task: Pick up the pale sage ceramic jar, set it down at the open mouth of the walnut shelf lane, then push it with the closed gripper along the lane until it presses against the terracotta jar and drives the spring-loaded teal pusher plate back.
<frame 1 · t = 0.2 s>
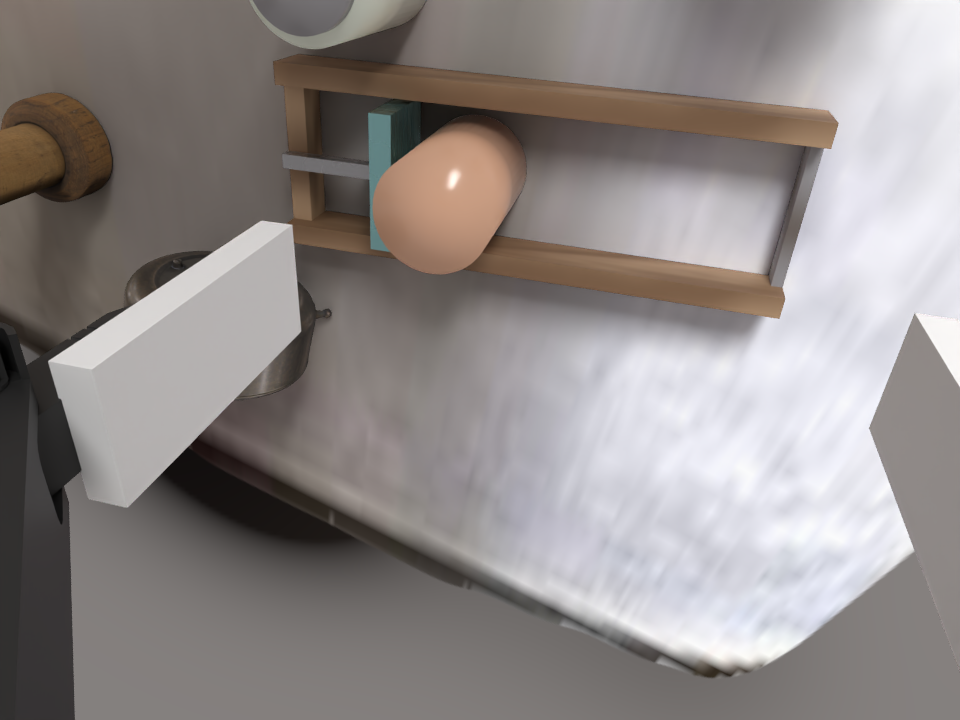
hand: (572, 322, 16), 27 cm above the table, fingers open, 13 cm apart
pusher: (345, 166, 42), point 3 cm above the table, slide at 0.0 cm
lane: (536, 175, 42), on the table
alarm clock: (275, 274, 50), on the table
jar in lane: (476, 167, 43), resting in lane
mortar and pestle: (72, 143, 49), on the table
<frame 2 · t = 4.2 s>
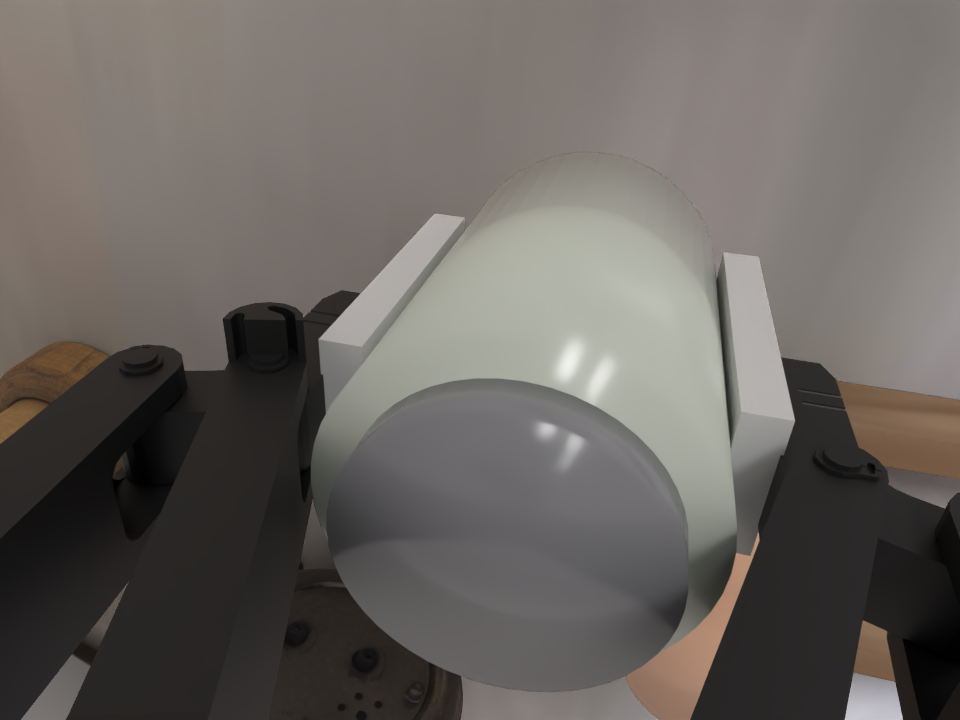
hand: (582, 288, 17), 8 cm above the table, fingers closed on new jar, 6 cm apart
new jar: (585, 276, 18), point 7 cm above the table, touching gripper
lane: (813, 501, 28), on the table
alarm clock: (382, 576, 35), on the table
jar in lane: (716, 482, 28), resting in lane
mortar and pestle: (96, 402, 34), on the table
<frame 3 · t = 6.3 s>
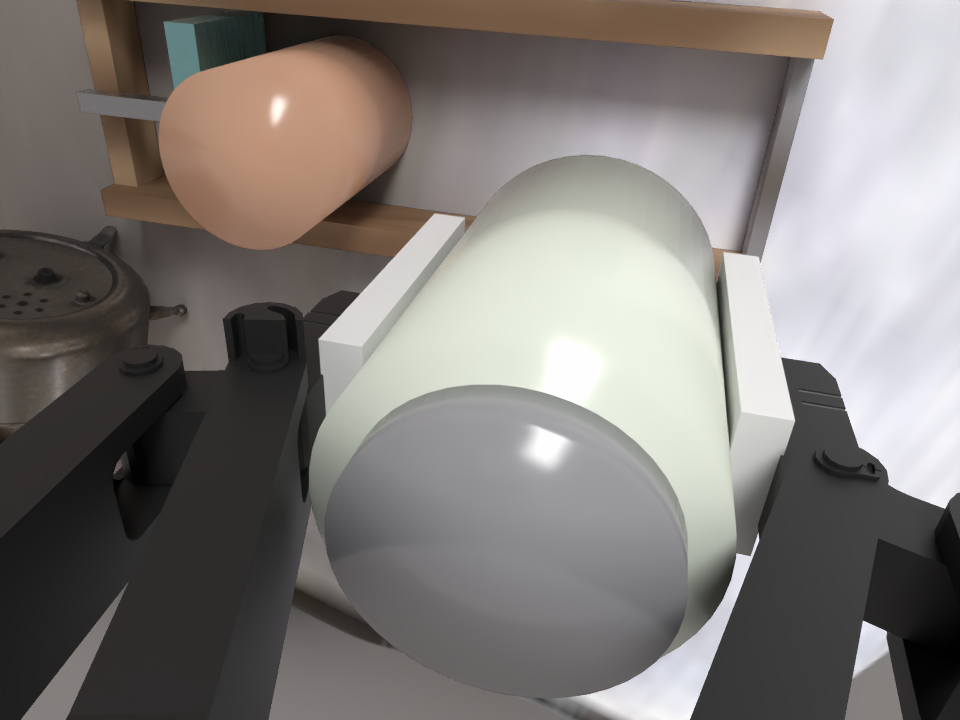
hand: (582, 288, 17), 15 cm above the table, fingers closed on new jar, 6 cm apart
pusher: (163, 108, 30), point 3 cm above the table, slide at 0.0 cm
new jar: (585, 279, 18), point 14 cm above the table, touching gripper
lane: (425, 119, 31), on the table
alarm clock: (114, 260, 39), on the table
jar in lane: (346, 110, 32), resting in lane
when the fingers open (1 cm above the table, at t = 8.7 s): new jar stays where it is, resting in lane.
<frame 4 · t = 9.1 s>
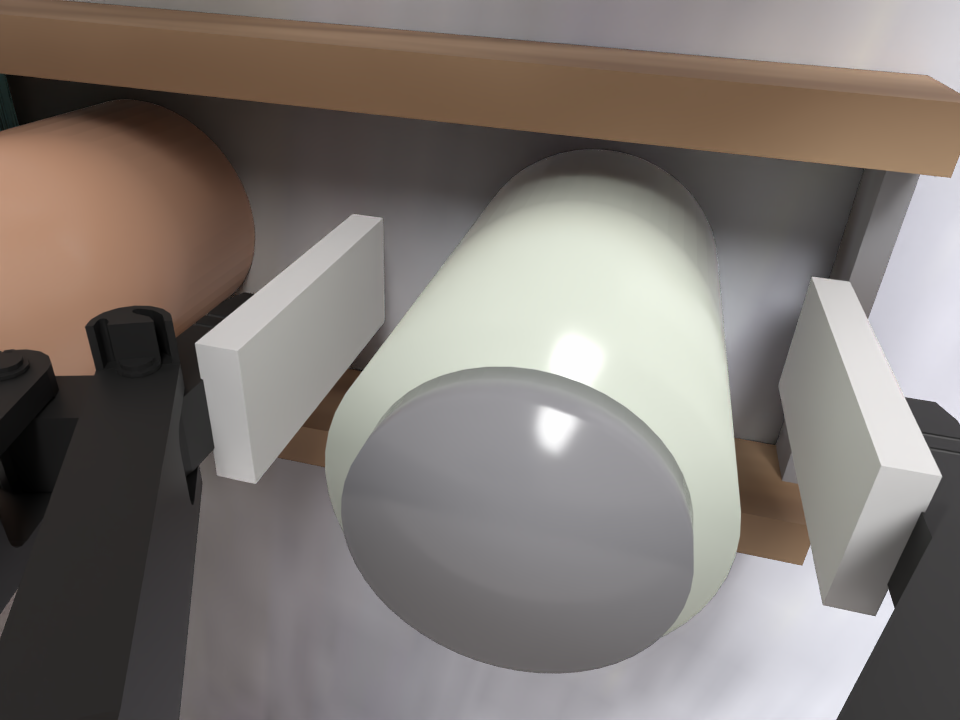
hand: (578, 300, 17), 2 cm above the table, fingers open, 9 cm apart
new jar: (590, 271, 18), resting in lane
lane: (274, 229, 20), on the table
jar in lane: (155, 212, 20), resting in lane
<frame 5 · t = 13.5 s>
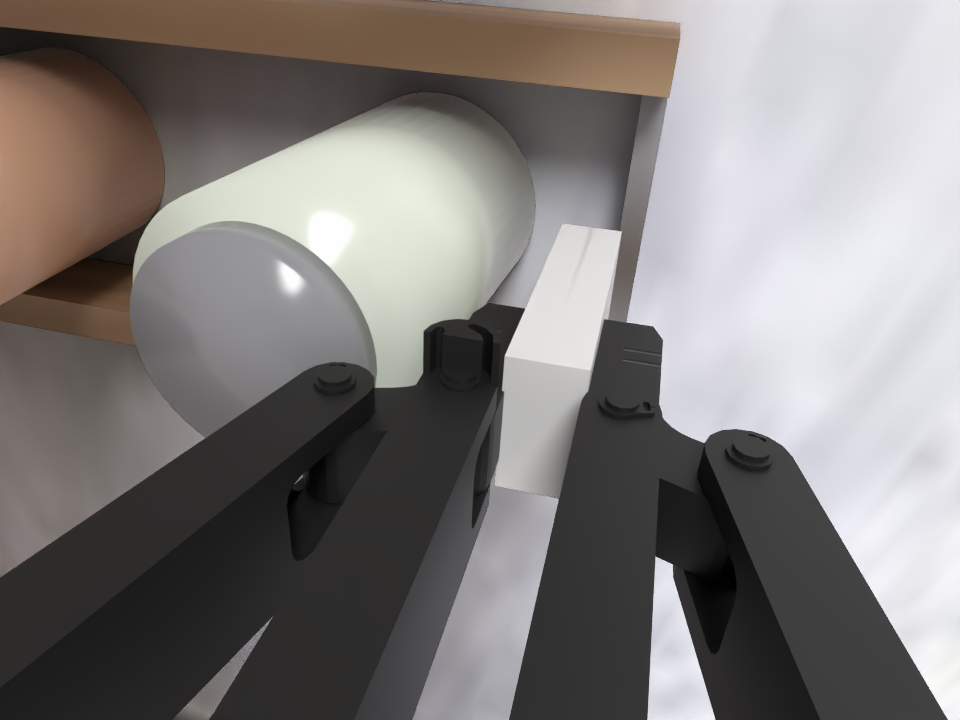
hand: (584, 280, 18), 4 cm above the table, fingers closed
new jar: (436, 199, 21), resting in lane, tilted 6°, touching gripper
lane: (179, 161, 23), on the table
jar in lane: (80, 147, 24), resting in lane
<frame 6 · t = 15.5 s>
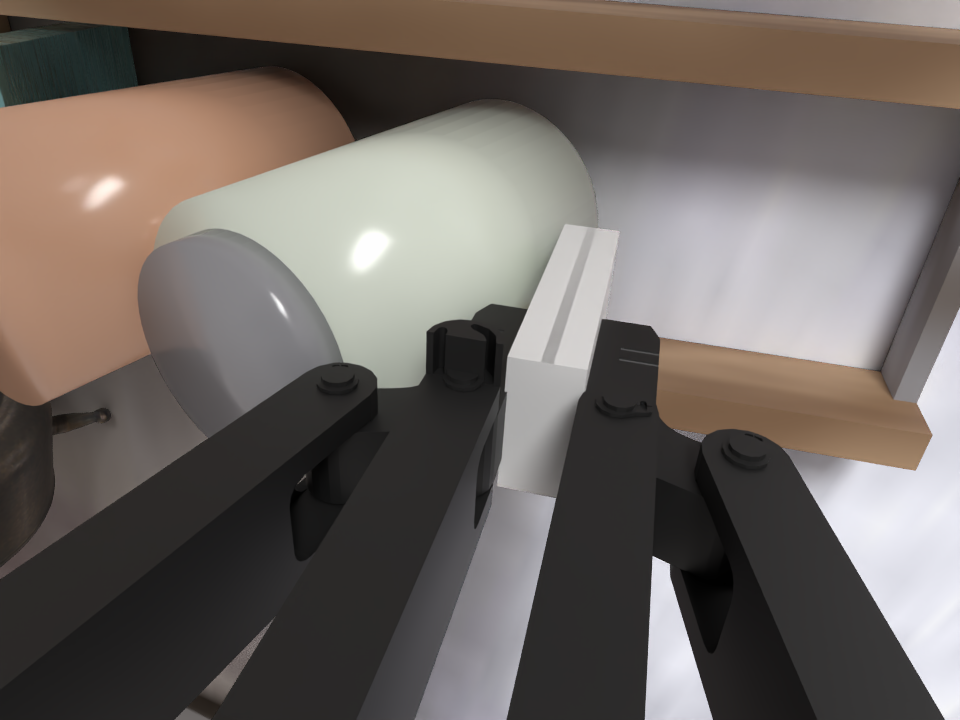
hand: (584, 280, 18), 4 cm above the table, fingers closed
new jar: (500, 210, 21), point 1 cm above the table, tilted 21°, touching gripper, jar in lane
lane: (430, 181, 22), on the table
alarm clock: (13, 349, 30), on the table
jar in lane: (289, 175, 22), point 1 cm above the table, tilted 20°, touching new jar, pusher
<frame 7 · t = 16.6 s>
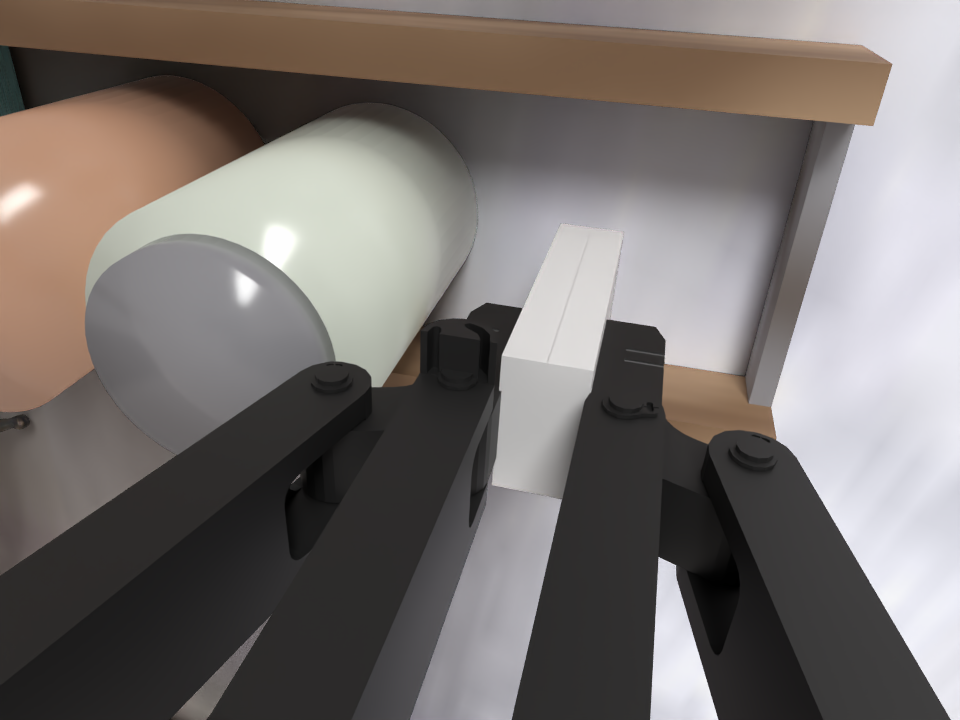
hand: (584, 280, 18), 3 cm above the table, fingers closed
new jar: (381, 206, 22), resting in lane
lane: (303, 191, 22), on the table
jar in lane: (189, 176, 23), resting in lane
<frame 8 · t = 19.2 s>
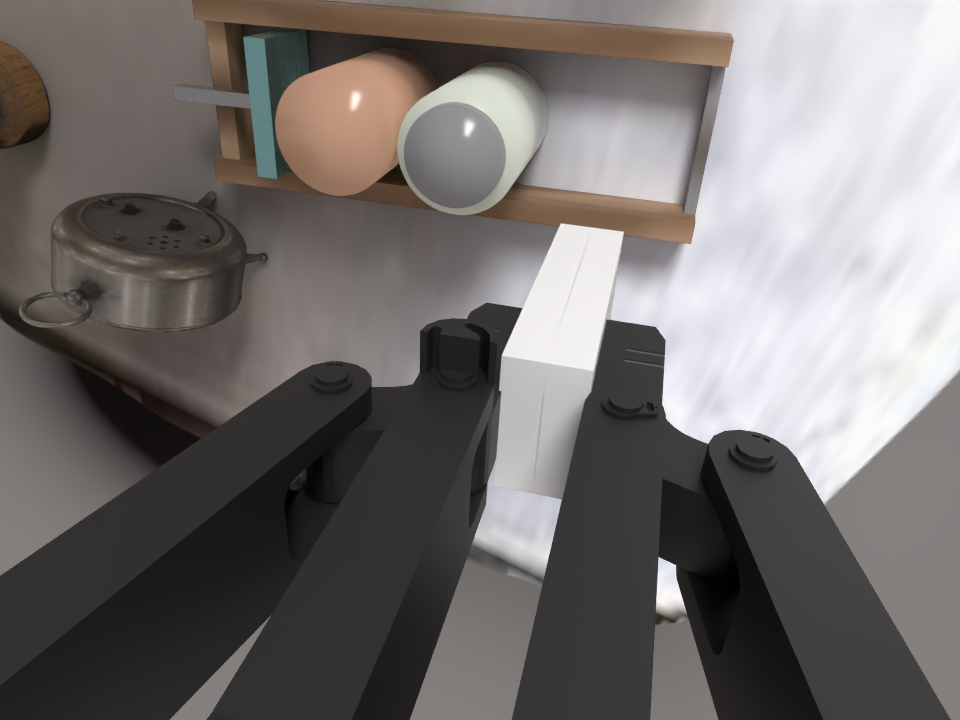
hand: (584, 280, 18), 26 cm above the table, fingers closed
pusher: (234, 97, 43), point 3 cm above the table, slide at 2.0 cm
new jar: (497, 116, 43), resting in lane
lane: (455, 109, 43), on the table
alarm clock: (211, 219, 51), on the table
jar in lane: (393, 101, 44), resting in lane
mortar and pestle: (10, 91, 50), on the table
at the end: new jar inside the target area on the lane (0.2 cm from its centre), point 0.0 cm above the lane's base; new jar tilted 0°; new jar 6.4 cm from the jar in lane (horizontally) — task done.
